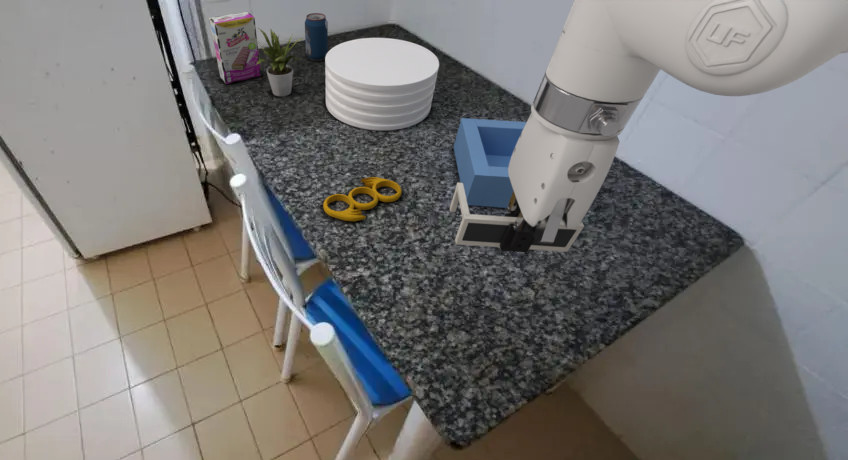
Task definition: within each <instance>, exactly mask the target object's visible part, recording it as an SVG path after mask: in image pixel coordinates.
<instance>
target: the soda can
mask: <svg viewBox="0 0 848 460" xmlns="http://www.w3.org/2000/svg"><path fill="white" fill-rule="evenodd" d="M326 17H327V16H326V15H325V14H324V13H319V12H313V13H308V14H307V15H306V17H305V21H304V38H305V54H306V57H307V58H308V59H309V60H311V61H315V62H319V61H323V60H324V61H325V57H326V54H327V53H328V52H329V35H328V34H329V27H328V26H329V25H328V24H329V22H328V20H327V18H326Z"/></svg>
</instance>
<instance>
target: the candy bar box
mask: <svg viewBox="0 0 848 460" xmlns="http://www.w3.org/2000/svg"><path fill="white" fill-rule="evenodd" d="M208 22H209V26H210V27H209V28H210V30H211V36H212V37H211V38H212V42H213V47H214V51H215V52H214V53H215V57H216V61H217V62H216V63H217V67H218V72H219V77H220V79H221V80H222V81H223V82H224V84H225V85H229V84H233V83H238V82H241V81H246V80H250V79H254V78H258V77H262V70H261V63H259V64H257V62H258V60H260V59H259V58H260V52H259V45H258V44H259V43H258V37H257V35H258V34H257V27H256V18H255V16H254V15H253V14H251V13H250V12H249V11H243V12H236V13H231V14H224V15H218V16H212V17H208ZM250 39H254V40H250ZM255 40H257V41H255ZM256 42H257V43H256ZM251 56H256V57H251ZM257 57H259V58H257ZM256 64H257V65H256Z"/></svg>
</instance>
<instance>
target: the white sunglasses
mask: <svg viewBox="0 0 848 460" xmlns="http://www.w3.org/2000/svg"><path fill="white" fill-rule="evenodd" d="M458 205H459V208H460V213H461V218H462V219H461V221H460V224H459V227H458V230H457V233H456V236H455V239H454V242H455V245H460V246H461V245H462V246H475V247H487V248H489V247H490V248H500V243H501V241H502V239H503V237H504V235H505V233H506V231H507V229H508V226H509V224H514V222H515V220H516V218H517V217H505V215H503V216H502V215H490V214H489V215H487V214H472V213H470V209H469V205H468V204H467V199H466V195H465V190H464V186H463V183H460V182H457V183H456V185H455V189H454V192H453V196H452V199H451V203H450V205H449V212H450V213H456V211H457V209H458ZM584 228H585V225H584V223H583V220H582V221H581V222H580V224H579V225H578V226H577V227H576V228H575V229H566V226H565V224H564V222H563V220H561V223H560V226H559V228H558V231H557V234H556V237H555V240H554V242H553V243H552V244H547V243H538V242H537V240H536V239H534V241H533V243H532V245H531V246H530V248H529V250H532V251H548V252H563V253H567V252H568V251H569V250H570V248H571V247H572V245H573V244H574V242H575V241H576V240H577V238H578V237H579V235H580V233H581V232H582V231H583V229H584Z"/></svg>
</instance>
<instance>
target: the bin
mask: <svg viewBox="0 0 848 460" xmlns="http://www.w3.org/2000/svg"><path fill="white" fill-rule="evenodd" d="M526 122H527V121H519V120H518V121H517V120H516V121H515V120H499V119H482V118H467V117H466V118H465V117H461V118H460V122H459V125H458V130H457V133H456V137H455V140H454V144H453V151H454V157H455V162H456V165H457V172H458V177H459V183H463V186H464V190H465V195H466V199H467V204H468V206H476V207H487V208H500V209H508V203H509V201H510V198H511V196H512V193H513V187H512V184H511V181H510V178H509V173H508V166H509V162H510V159H511V156H512V154H513V151H514V149H515V146H516V144H517V142H518V139H519V137H520V135H521V133H522V131H523V129H524V127H525V125H526Z"/></svg>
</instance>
